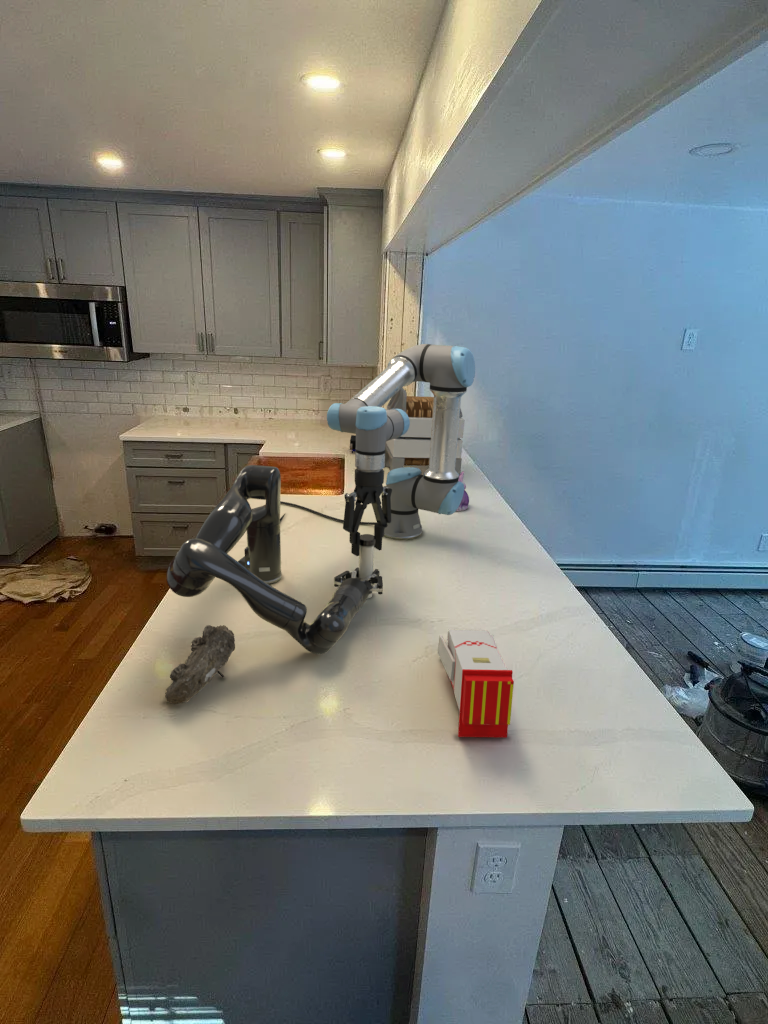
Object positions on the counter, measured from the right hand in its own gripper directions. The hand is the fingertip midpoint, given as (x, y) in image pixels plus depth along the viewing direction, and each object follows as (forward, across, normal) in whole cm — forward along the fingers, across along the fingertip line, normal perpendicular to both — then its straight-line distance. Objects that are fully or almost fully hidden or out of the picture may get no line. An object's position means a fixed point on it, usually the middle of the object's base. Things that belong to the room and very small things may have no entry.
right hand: (366, 551), depth 152 cm
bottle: (+13, 0, 0) cm, 13 cm away
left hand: (+7, -2, -2) cm, 8 cm away
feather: (+13, -9, -66) cm, 68 cm away
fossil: (+13, +49, +11) cm, 52 cm away
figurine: (+13, -74, -40) cm, 85 cm away
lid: (-4, 0, 0) cm, 4 cm away
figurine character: (+13, -91, -138) cm, 166 cm away
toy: (+13, +6, +46) cm, 49 cm away
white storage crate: (+13, -94, -87) cm, 128 cm away
